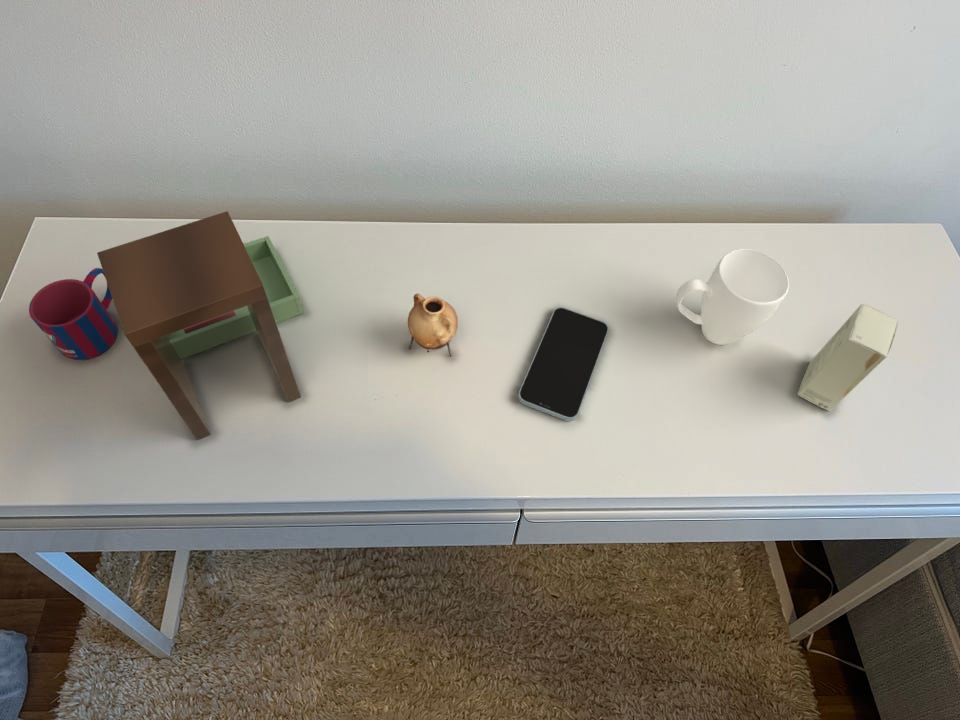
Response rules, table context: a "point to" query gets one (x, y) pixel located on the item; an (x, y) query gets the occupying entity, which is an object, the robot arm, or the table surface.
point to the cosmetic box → (848, 357)
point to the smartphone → (563, 364)
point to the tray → (278, 294)
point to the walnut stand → (189, 301)
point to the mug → (737, 295)
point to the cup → (75, 317)
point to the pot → (432, 323)
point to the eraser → (209, 322)
